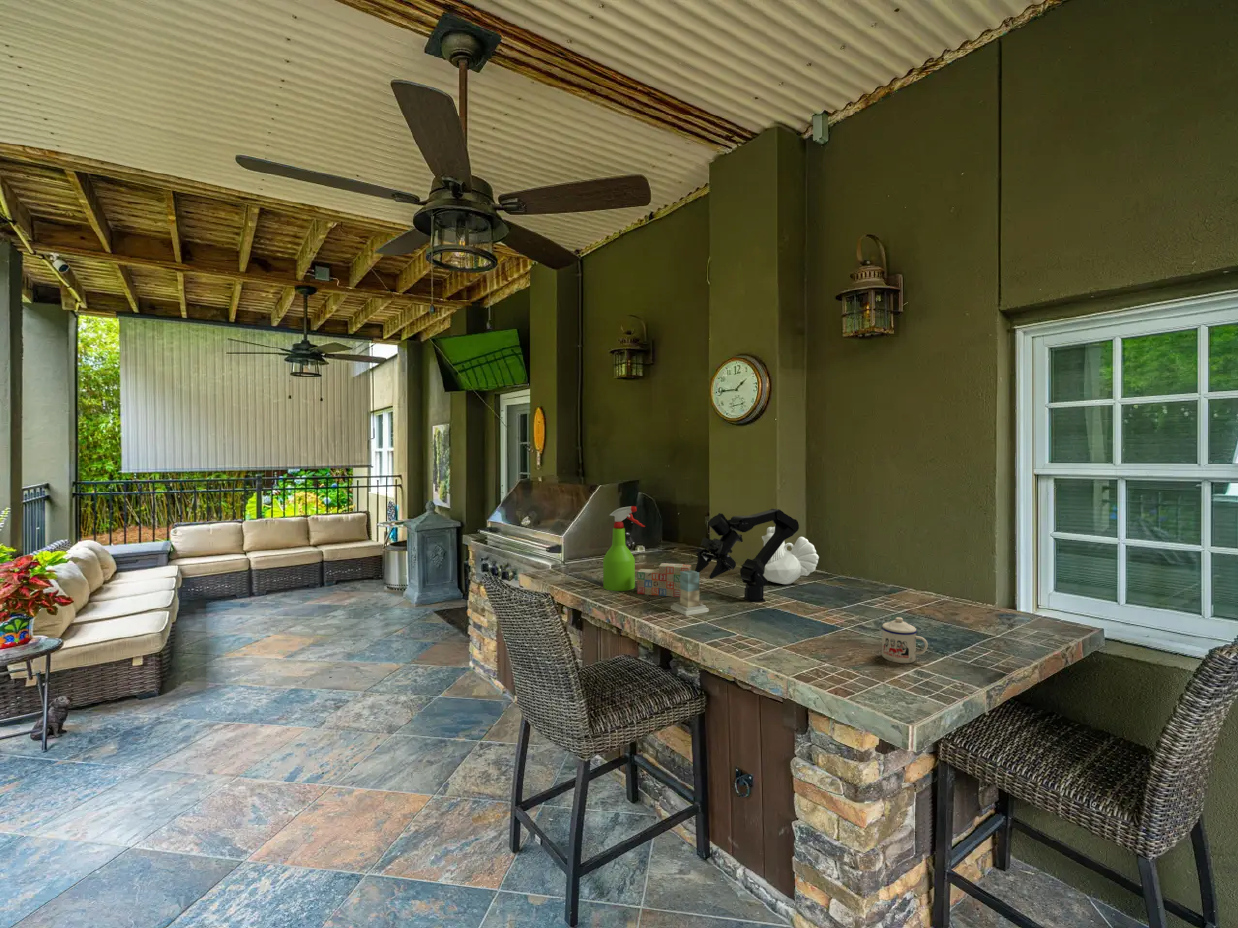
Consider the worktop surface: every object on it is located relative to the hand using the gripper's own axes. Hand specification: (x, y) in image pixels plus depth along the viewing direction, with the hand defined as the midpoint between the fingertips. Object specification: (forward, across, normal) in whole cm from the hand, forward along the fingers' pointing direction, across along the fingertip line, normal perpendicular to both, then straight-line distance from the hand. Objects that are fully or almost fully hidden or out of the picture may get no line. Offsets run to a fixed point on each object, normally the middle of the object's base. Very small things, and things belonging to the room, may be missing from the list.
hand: (702, 575), depth 224 cm
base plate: (+13, 0, +4) cm, 14 cm away
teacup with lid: (-4, +71, +22) cm, 74 cm away
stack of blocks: (+10, -25, +8) cm, 28 cm away
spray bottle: (+16, -42, +1) cm, 45 cm away
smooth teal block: (+12, 0, +4) cm, 12 cm away
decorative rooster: (-30, -14, +49) cm, 59 cm away
